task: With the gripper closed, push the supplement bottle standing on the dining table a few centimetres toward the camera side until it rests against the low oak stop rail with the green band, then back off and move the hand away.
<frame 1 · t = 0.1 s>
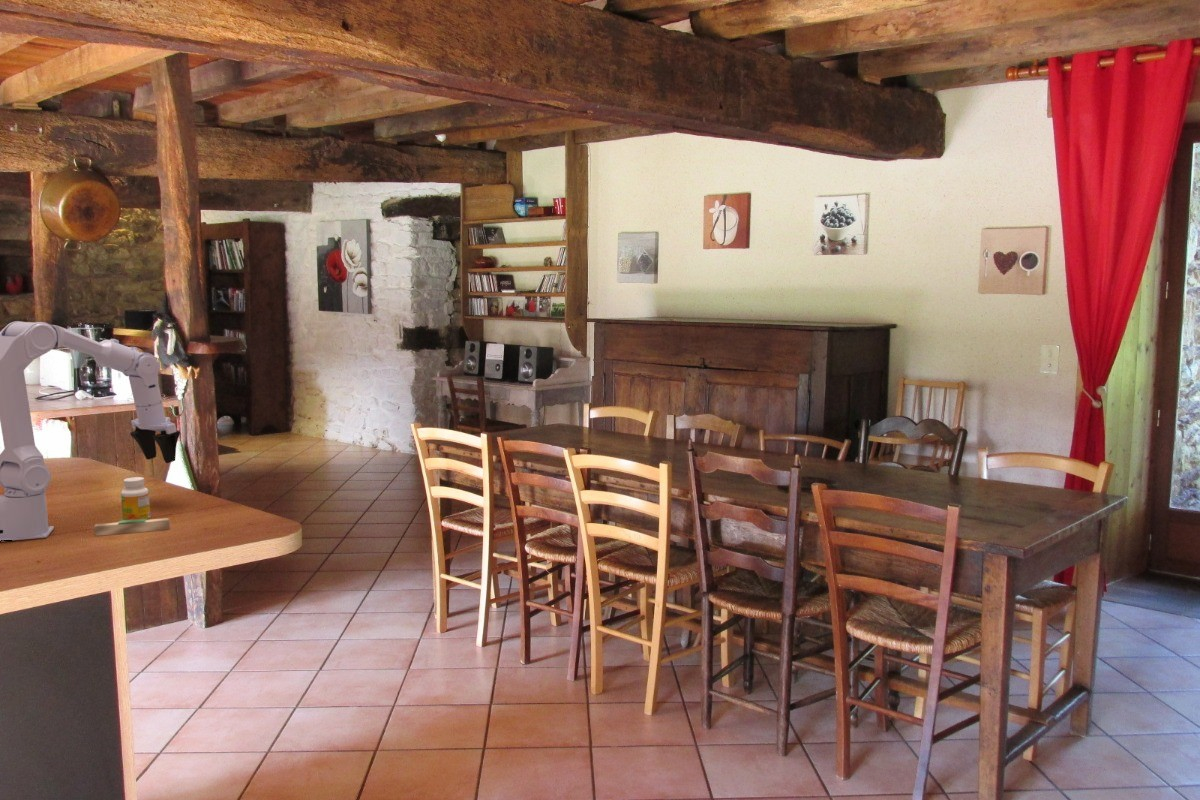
hand: (160, 460, 226), 10 cm above the table, tool pointing down, fingers open, 7 cm apart
supplement bottle: (137, 523, 211), on the table
stop rail: (132, 531, 204), on the table
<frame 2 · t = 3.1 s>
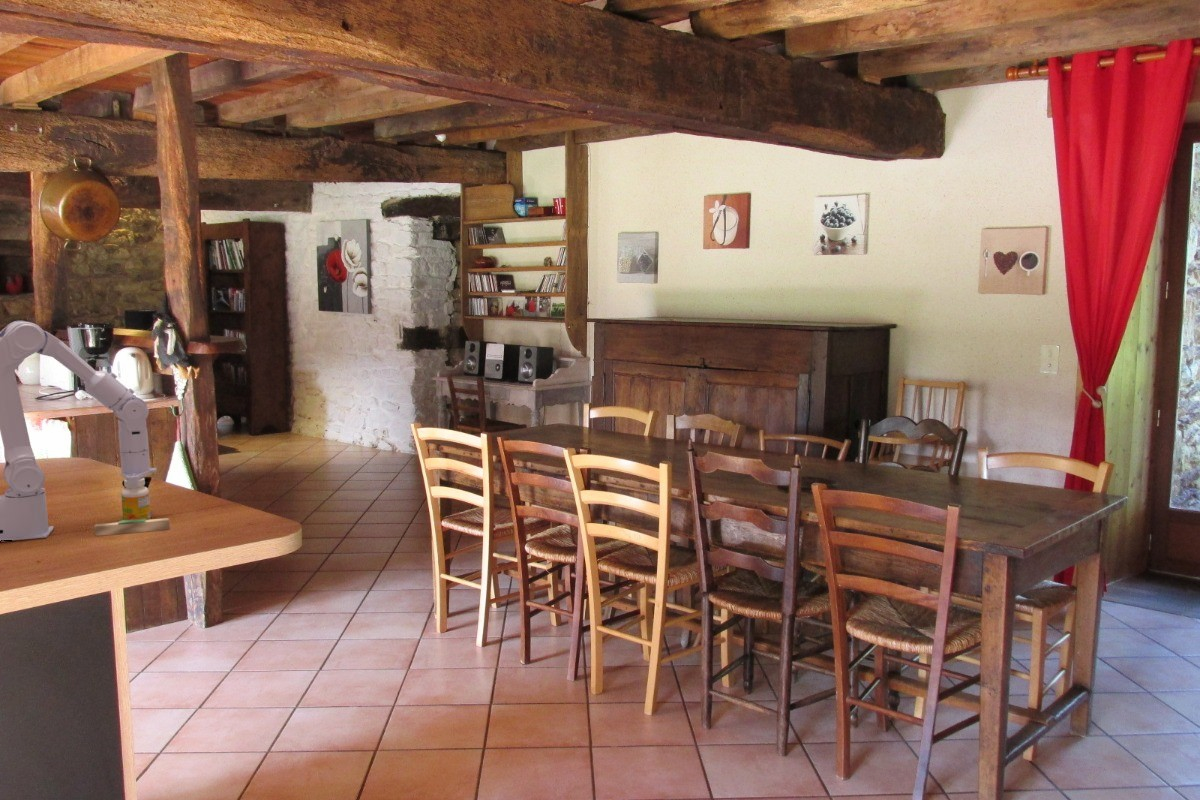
hand: (139, 511, 214), 2 cm above the table, tool pointing down, fingers closed, pressing on supplement bottle
supplement bottle: (137, 523, 211), on the table, touching gripper
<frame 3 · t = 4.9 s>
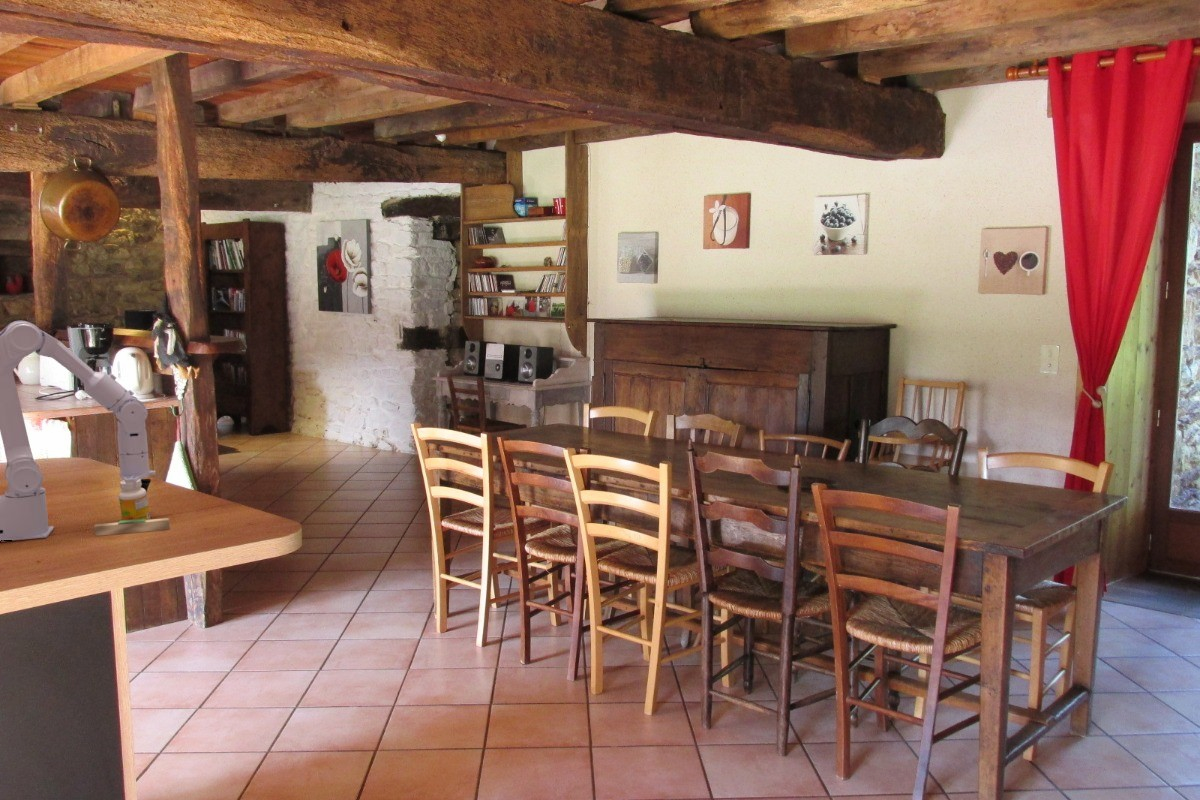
hand: (138, 513, 213), 1 cm above the table, tool pointing down, fingers closed
supplement bottle: (137, 524, 209), on the table, touching gripper
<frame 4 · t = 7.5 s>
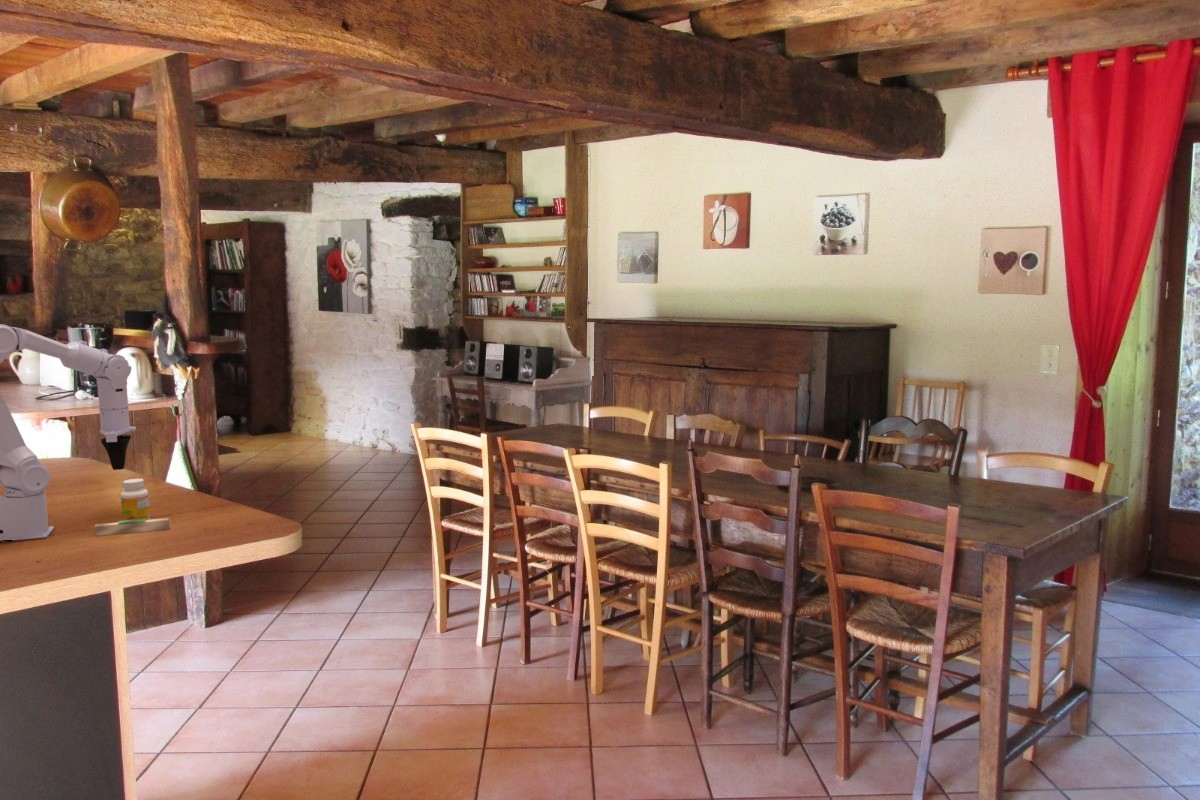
hand: (118, 469, 216), 10 cm above the table, tool pointing down, fingers closed
supplement bottle: (137, 525, 209), on the table
at the end: supplement bottle inside the target area (1.8 cm from its centre), on the table; supplement bottle tilted 1°; supplement bottle moved 2.2 cm from its start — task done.
